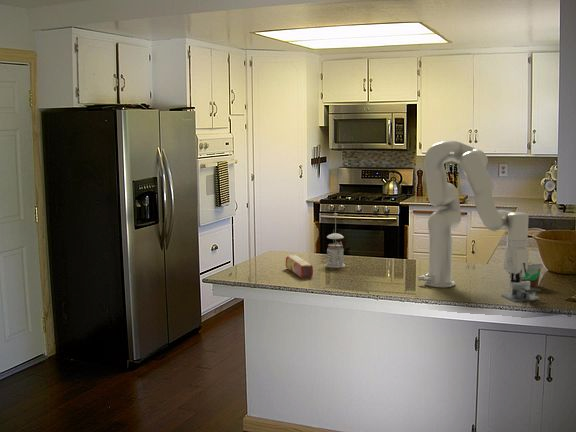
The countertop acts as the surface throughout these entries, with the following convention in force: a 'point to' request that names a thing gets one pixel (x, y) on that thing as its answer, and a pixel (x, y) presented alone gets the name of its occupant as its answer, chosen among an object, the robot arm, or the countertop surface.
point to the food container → (532, 274)
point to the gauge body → (518, 297)
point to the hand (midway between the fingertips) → (514, 289)
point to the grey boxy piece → (523, 289)
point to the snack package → (299, 266)
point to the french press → (335, 250)
